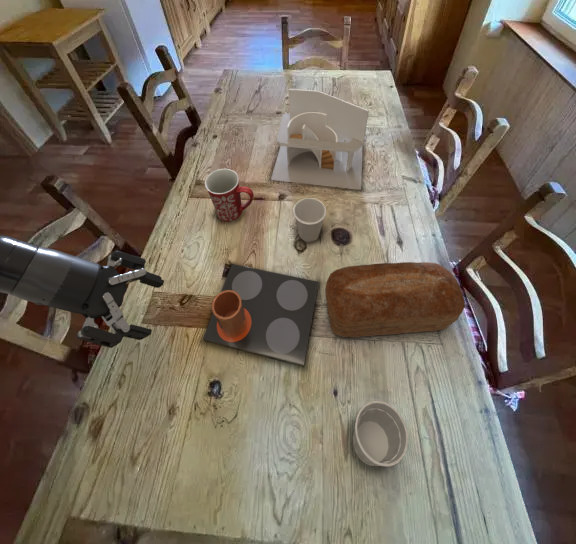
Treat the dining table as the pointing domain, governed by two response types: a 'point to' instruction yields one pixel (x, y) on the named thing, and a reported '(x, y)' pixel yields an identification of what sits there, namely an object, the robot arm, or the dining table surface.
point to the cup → (380, 435)
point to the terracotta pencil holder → (229, 313)
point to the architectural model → (321, 141)
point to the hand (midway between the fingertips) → (155, 307)
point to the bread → (392, 299)
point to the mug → (227, 194)
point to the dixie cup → (309, 218)
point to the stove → (269, 314)
